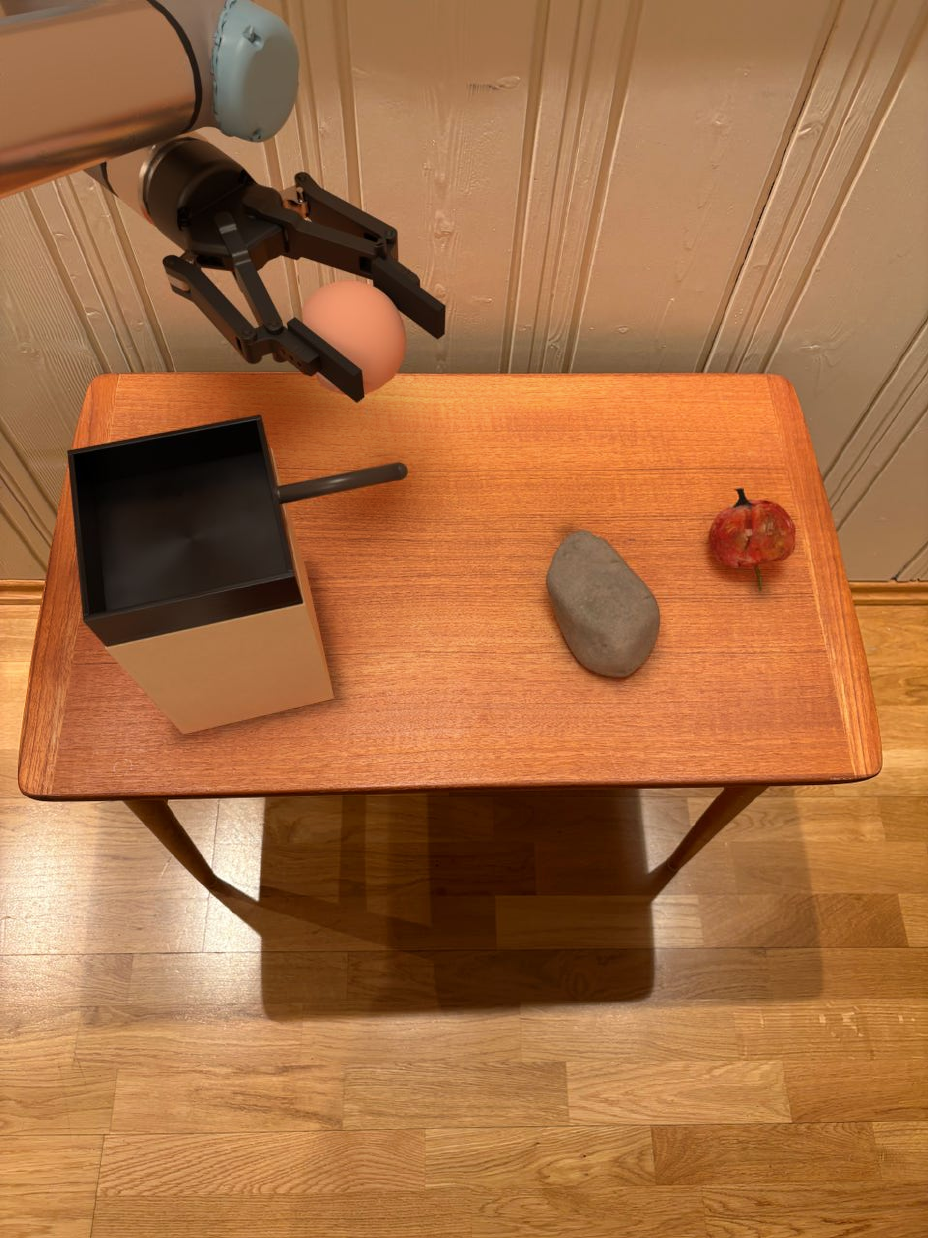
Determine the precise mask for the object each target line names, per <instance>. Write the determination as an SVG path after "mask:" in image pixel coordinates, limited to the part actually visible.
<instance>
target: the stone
mask: <svg viewBox="0 0 928 1238" xmlns="http://www.w3.org/2000/svg"><path fill="white" fill-rule="evenodd" d="M545 587H546V591H547V594H548V596H549V599H550V603H551V605H552V608H553V611H554V614H555V617H556V619H557V623H558V625H559V628H560V631H561V633H562V636H563V637H564V640H565V641H566V644H567V645H568V647H569V649H570V651H571V653H572V654H573V655H574V657H575V658H576V659H577V661H578V662H579V663H580V664H581V665H582V666H583V667H585V668H586V669H588V670H589V671H592V672H594V673H596V674H599V675H603V676H607V677H613V678H623V677H628V676H630V675H632V674H633V673H634V672H636V671H637V670H638V669H639V668H640V667H641V666H642V664H644V662H645V661H646V660H647V658H648V657H649V655H650V654H651V652H652V650H653V648H654V647H655V644H656V642H657V639H658V636H659V633H660V627H661V610H660V607H659V604H658V601H657V599H656V597H655V594H654V593H653V592H652V590H651V589H650V588H649V586H647V584H646V583H645V581H644V580H643V579H642V578H641V577H640V576H639V575H638V574H637V573H636V572H635V571H634V569H633V568H631V567H630V565H629V564H628V562H626V560H625V559H624V558H623V557H622V555H620V553H619V552H618V551H617V550H616V549H615V548H614V547H613V546H612V545H611V544H610V542H609V541H608V540H607V539H605V538H604V537H601V536H597V535H595V534H594V533H593V532H591V531H590V530H586V529H581V530H577V531H574V532H573V533H571V534H570V535H568V536H567V537H565V538H564V539H563V541H562V542H560V544H559V545H558V547H557V549H556V550H555V552H554V553H553V555H552V559H551V562H550V565H549V567H548V569H547V572H546V576H545Z"/></svg>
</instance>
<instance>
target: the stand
mask: <svg viewBox="0 0 928 1238" xmlns="http://www.w3.org/2000/svg"><path fill="white" fill-rule="evenodd" d="M270 448H271V447H270ZM271 452H272V457H273V462H274V466H275V471H276V476H277V480H278V485H279V486H281V485H283V481H282V478H281V475H280V471H279V468H278V464H277V460H276V457H275V454H274V450H273V447H272V448H271ZM283 509H284V513H285V518H286V523H287V527H288V532H289V537H290V541H291V546H292V551H293V555H294V560H295V565H296V570H297V574H298V579H299V584H300V588H301V593H302V598H303V602H304V603H303V604H299V605H294V606H290V607H285V608H281V609H276V610H272V611H267V612H263V613H258V614H254V615H249V616H245V617H240V618H236V619H231V620H227V621H222V622H217V623H213V624H208V625H204V626H199V627H195V628H190V629H186V630H181V631H177V632H172V633H168V634H163V635H159V636H154V637H150V638H145V639H141V640H136V641H131V642H127V643H122V644H118V645H113V646H109V647H106V646H105V645H104V649H105V651H106V652H107V653H108V654H109V655H110V656H111V657H112V658H113V659H114V660H115V662H116V663H117V664H118V665H119V666H120V668H122V670H123V671H124V672H125V673H126V674H128V676H129V677H130V678H131V679H132V680H133V681H134V682H135V684H136V685H137V686H138V687H139V688H140V690H142V691H143V692H144V694H145V695H146V697H148V698H149V699H150V700H151V701H152V703H154V705H156V707H157V708H158V709H159V710H160V711H161V712H162V713H163V714H164V715H165V716H166V718H167V719H168V720H169V721H170V722H171V723H172V724H173V726H175V727H176V729H177V730H178V731H179V732H180V733H181V734H182V735H187V734H192V733H197V732H201V731H204V730H209V729H214V728H218V727H221V726H225V725H230V724H234V723H239V722H243V721H246V720H251V719H255V718H260V717H263V716H267V715H272V714H276V713H281V712H284V711H289V710H293V709H297V708H301V707H305V706H309V705H313V704H318V703H322V702H326V701H330V700H334V699H335V695H334V690H333V686H332V681H331V676H330V672H329V667H328V663H327V660H326V659H327V658H326V654H325V649H324V645H323V640H322V636H321V632H320V627H319V623H318V617H317V613H316V609H315V603H314V598H313V594H312V590H311V585H310V581H309V576H308V571H307V567H306V564H305V561H304V557H303V553H302V550H301V546H300V543H299V538H298V536H297V533H296V529H295V528H296V527H295V525H294V522H293V518H292V514H291V511H290V507H289V503H285V504H283Z"/></svg>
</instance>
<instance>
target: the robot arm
mask: <svg viewBox="0 0 928 1238" xmlns="http://www.w3.org/2000/svg"><path fill="white" fill-rule="evenodd" d="M0 5H1V8H2V10H3V11H4V14H5V16H2V17H0V200H3V199H6V198H9V197H12V196H14V195H17V194H21V193H22V192H27V191H28V190H31V189H34V188H36V187H39V186H42V185H45V184H48V183H51V182H54V181H56V180H58V179H61V178H65V177H67V176H69V175H72V174H75V173H78V172H81V171H83V172H84V173H85V174H87V175H88V176H89V177H91V178H92V179H93V180H94V181H96V182H97V183H98V184H99V185H101V186H102V187H103V188H105V189H106V190H107V191H108V192H110V193H111V194H113V196H115V197H116V198H118V199H119V200H121V201H122V202H123V203H124V204H125V205H126V206H128V207H129V208H130V209H132V211H134V212H135V213H136V214H138V216H140V217H142V218H143V219H144V220H145V221H146V222H148V223H149V224H150V225H152V226H153V227H155V228H156V229H157V230H158V231H159V232H160V233H161V234H162V235H163V236H165V237H166V238H167V239H169V240H170V242H172V243H173V244H175V245H176V246H177V247H178V248H179V249H181V250H182V251H183V253H182V254H181V255H180V256H178V255H175V254H168V255H166V256H164V257H163V259H162V261H161V262H162V265H163V268H164V271H165V274H166V277H167V280H168V283H169V285H170V289H171V291H172V292H173V293H174V294H175V295H177V296H180V297H182V298H184V299H186V300H188V301H189V302H192V303H193V304H194V305H195V306H196V307H197V308H198V309H199V310H200V312H201V313H202V314H203V315H204V316H205V317H206V318H207V319H208V321H209V322H210V323H211V324H212V325H213V326H214V328H216V330H217V331H218V332H219V333H220V334H221V335H222V336H223V337H224V338H225V340H226V341H227V342H228V343H229V344H230V346H232V347H233V349H234V350H235V351H236V352H237V353H238V354H239V355H240V357H242V359H244V361H245V362H246V363H248V364H251V365H256V364H259V363H260V362H261V361H262V360H263V357H264V356H267V355H271V356H272V359H273V361H274V362H276V363H279V364H280V363H281V364H282V363H285V362H288V363H289V364H290V365H292V366H293V367H294V368H295V369H297V370H298V371H299V372H300V373H302V374H303V376H304V375H305V376H308V377H311V378H313V376H316V373H317V372H319V373H320V374H321V375H322V376H324V377H325V378H326V379H327V380H329V381H330V382H331V383H332V384H333V385H335V386H336V387H337V388H338V389H340V390H341V391H342V392H343V393H345V394H346V395H345V396H347V397H348V398H350V400H352V401H353V402H354V403H356V404H358V403H359V402H360V401H361V400H363V399H364V398H366V397H365V395H366V394H364V385H363V375H362V370H361V369H360V368H359V367H358V366H356V365H355V364H354V363H352V362H351V361H350V360H349V359H347V358H346V357H345V356H344V355H342V354H341V353H340V352H339V351H337V350H336V349H335V348H333V347H332V346H331V345H330V344H328V343H327V342H326V341H325V340H323V339H322V338H321V337H320V336H318V335H317V334H316V333H315V332H313V331H312V330H311V329H309V328H308V327H307V326H306V325H304V324H303V321H301V320H299V318H297V317H295V316H294V317H292V318H291V319H289V320H288V321H286V326H285V325H284V322H283V319H282V317H281V315H280V312H279V311H278V310H277V308H276V306H275V304H274V302H273V300H272V297H271V295H270V293H269V292H268V289H267V288H266V286H265V284H264V282H263V280H262V278H261V276H260V274H259V271H260V270H262V269H263V268H265V266H266V265H267V264H268V263H269V262H270V261H272V260H275V259H277V258H279V257H284V258H287V259H290V260H294V261H299V260H300V258H302V259H306V260H309V261H312V262H315V263H319V264H321V265H324V266H327V267H330V268H334V269H336V270H340V271H343V272H346V273H349V274H352V275H355V276H358V277H361V278H363V279H364V278H365V279H367V280H371V281H372V286H374V287H376V288H377V289H379V290H380V291H382V292H383V293H384V294H385V295H387V296H388V297H389V298H390V300H391V301H392V302H393V303H394V305H395V306H396V308H397V309H398V311H399V313H400V314H402V315H404V316H405V317H406V318H408V319H409V320H410V321H412V322H413V323H414V324H416V325H417V326H419V327H420V328H421V329H422V330H424V331H425V332H427V334H429V335H431V336H432V337H433V338H434V339H436V340H437V341H438V340H439V339H441V338H442V337H443V336H444V335H445V334H446V311H447V308H446V304H444V303H443V302H441V301H440V300H439V299H437V297H434V296H433V295H432V294H431V293H429V292H428V291H426V290H425V289H424V288H423V287H421V279H420V277H419V276H418V274H417V273H415V272H413V271H412V270H411V269H410V268H408V267H407V266H405V265H404V264H403V263H401V262H400V261H399V235H398V230H397V228H395V227H394V226H392V225H390V224H388V223H387V222H385V221H383V220H381V219H379V218H378V217H375V216H374V215H372V214H370V213H368V212H367V211H364V210H362V209H360V208H358V207H357V206H355V205H353V204H351V203H350V202H348V201H346V200H344V199H342V198H341V197H338V195H335V194H334V193H332V192H330V191H328V190H326V189H324V188H323V187H321V186H320V185H319V184H318V183H317V181H315V179H314V178H313V177H312V175H311V174H309V173H308V172H306V171H300V172H297V173H295V175H294V177H293V180H294V185H292V186H289V187H287V188H284V189H282V190H280V191H278V190H277V189H275V188H274V187H272V186H271V187H270V186H265V185H263V184H260V183H259V182H257V181H256V180H255V179H254V178H253V176H252V175H251V174H250V173H249V172H248V170H247V169H246V168H245V167H244V166H242V165H241V164H240V162H237V161H236V160H235V159H234V158H232V157H231V156H230V155H228V154H227V153H225V152H224V151H223V150H221V149H220V148H219V147H218V146H216V145H215V144H213V143H210V142H209V140H208V139H207V138H206V137H205V136H203V135H202V134H201V133H199V132H198V130H201V129H203V128H214V129H217V130H219V132H220V133H221V134H222V135H224V136H226V137H228V138H233V137H235V138H237V139H240V140H243V141H247V142H249V143H256V144H257V143H265V142H267V141H269V140H271V139H272V138H273V137H275V136H276V135H277V134H278V133H279V132H280V131H281V130H282V129H283V128H284V126H285V125H286V123H287V122H288V120H289V118H290V116H291V115H292V111H293V110H294V106H295V104H296V100H297V96H298V93H299V86H300V82H299V71H300V65H301V64H300V63H301V62H300V56H299V49H298V46H297V42H296V39H295V37H294V34H293V32H292V30H291V29H290V27H289V26H288V24H287V23H286V22H285V20H283V19H282V18H281V17H280V16H279V15H277V14H276V13H274V12H271V11H270V10H269V9H266V8H264V7H262V6H261V5H259V4H257V3H255V2H253V1H251V0H0ZM307 219H309V220H307ZM203 269H206V270H207V269H208V270H214V271H215V270H217V271H222V272H223V271H224V272H230V274H231V275H232V277H233V279H234V281H235V283H236V285H237V287H238V289H239V292H240V293H242V295H243V297H244V299H245V301H246V303H247V305H248V307H249V309H250V311H251V313H252V315H253V317H254V319H255V321H256V323H257V325H258V327H255V326H253V325H252V323H251V322H250V321H249V320H248V319H247V318H246V317H245V316H244V315H243V314H242V313H241V311H239V309H238V308H237V307H236V306H235V305H234V304H233V303H232V302H231V301H230V299H228V297H226V295H225V294H224V293H223V292H222V291H221V290H220V289H219V288H218V286H217V285H216V284H215V283H214V282H213V280H211V279H210V278H209V276H207V275H206V274H205V273H204V271H203Z"/></svg>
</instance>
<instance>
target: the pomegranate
mask: <svg viewBox="0 0 928 1238" xmlns="http://www.w3.org/2000/svg"><path fill="white" fill-rule="evenodd" d="M733 490H734V491H736V493H737V495H738V500H737V501H736V502H735V503H734V504H733V505H732V506H729V507H726V508H724V509H723V510H721V511H719V512H718V514H717V515H716V516H715V518H714V520H713V522H712V523H711V526H710V529H709V534H708V540H709V541H708V543H709V547H710V551H711V552H712V554H713V555H714V557H715V559H717V561H719V562H720V563H721V564H724V565H727V566H728V567H731V568H734V569H735V568H736V569H738V568H742V567H744V566H747V567H751V568H752V567H754V571H755V573H756V577H757V580H758V585H759V590H760V591H763V586H762V579H761V578H762V577H761V571H760V569H759V566H760V565H762V564H766V563H772V562H783V561H785V560H787V559H788V558H789V557H790V556H792V555H793V553H795V550H796V546H797V542H796V535H797V534H796V530H797V528H796V525H795V523H794V520H793V519H792V517H791V516H790V514H789V513H788V512H787V510H785V508H784V507H783V506H782V505H781V504H779V503H776V502H774V501H772V500H768V499H757V500H755V499H748V498H747V496H746V493H745V488H744V487H738V488H737V487H736V488H733Z"/></svg>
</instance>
